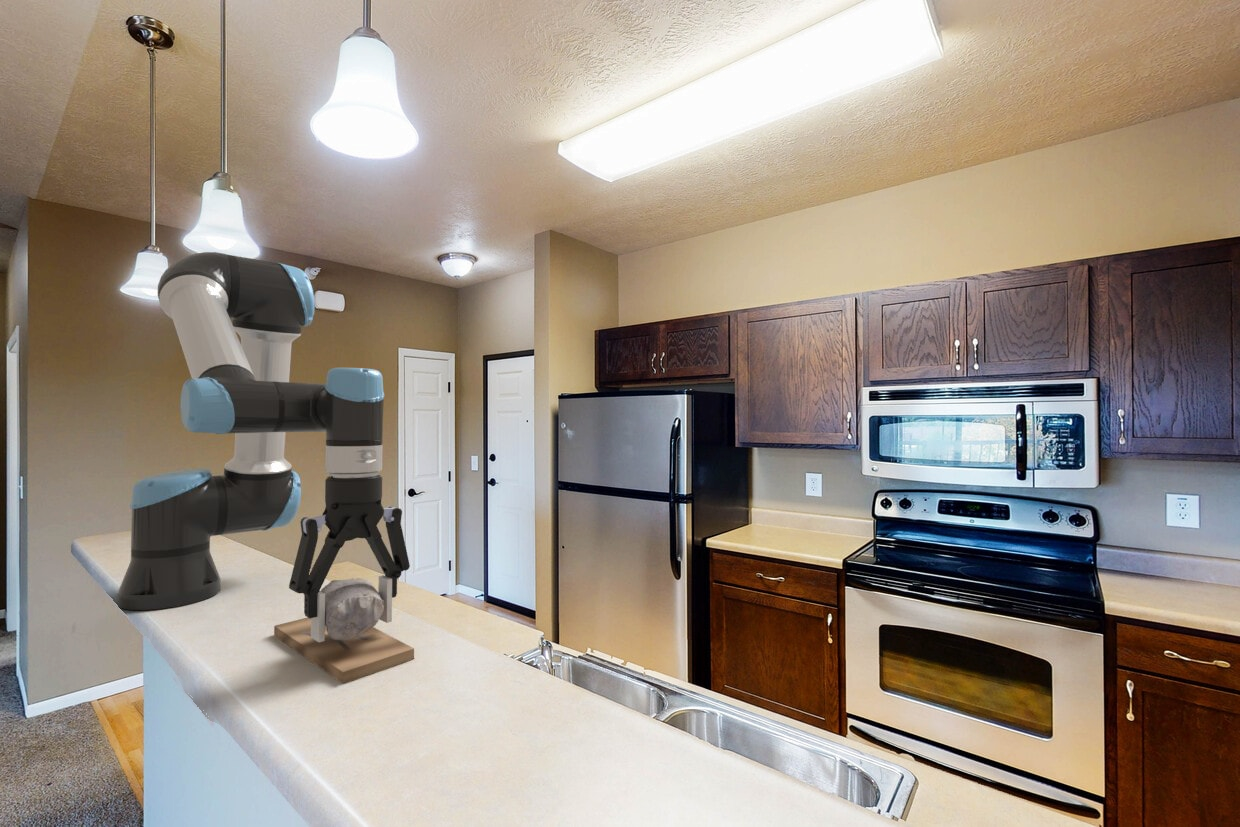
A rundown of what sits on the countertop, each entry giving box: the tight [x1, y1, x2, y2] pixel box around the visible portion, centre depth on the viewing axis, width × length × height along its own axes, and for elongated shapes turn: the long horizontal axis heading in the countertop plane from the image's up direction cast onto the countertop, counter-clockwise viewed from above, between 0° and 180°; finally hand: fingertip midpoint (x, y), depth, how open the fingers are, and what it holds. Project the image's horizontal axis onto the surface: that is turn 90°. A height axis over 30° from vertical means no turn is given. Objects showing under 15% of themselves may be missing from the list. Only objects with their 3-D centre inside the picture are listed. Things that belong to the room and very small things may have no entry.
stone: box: [320, 578, 384, 640], centre depth 83 cm, size 8×12×7 cm, turn 36°
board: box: [273, 617, 415, 684], centre depth 86 cm, size 24×10×2 cm, turn 50°
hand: (352, 629), depth 83 cm, fingers closed on stone, 9 cm apart
